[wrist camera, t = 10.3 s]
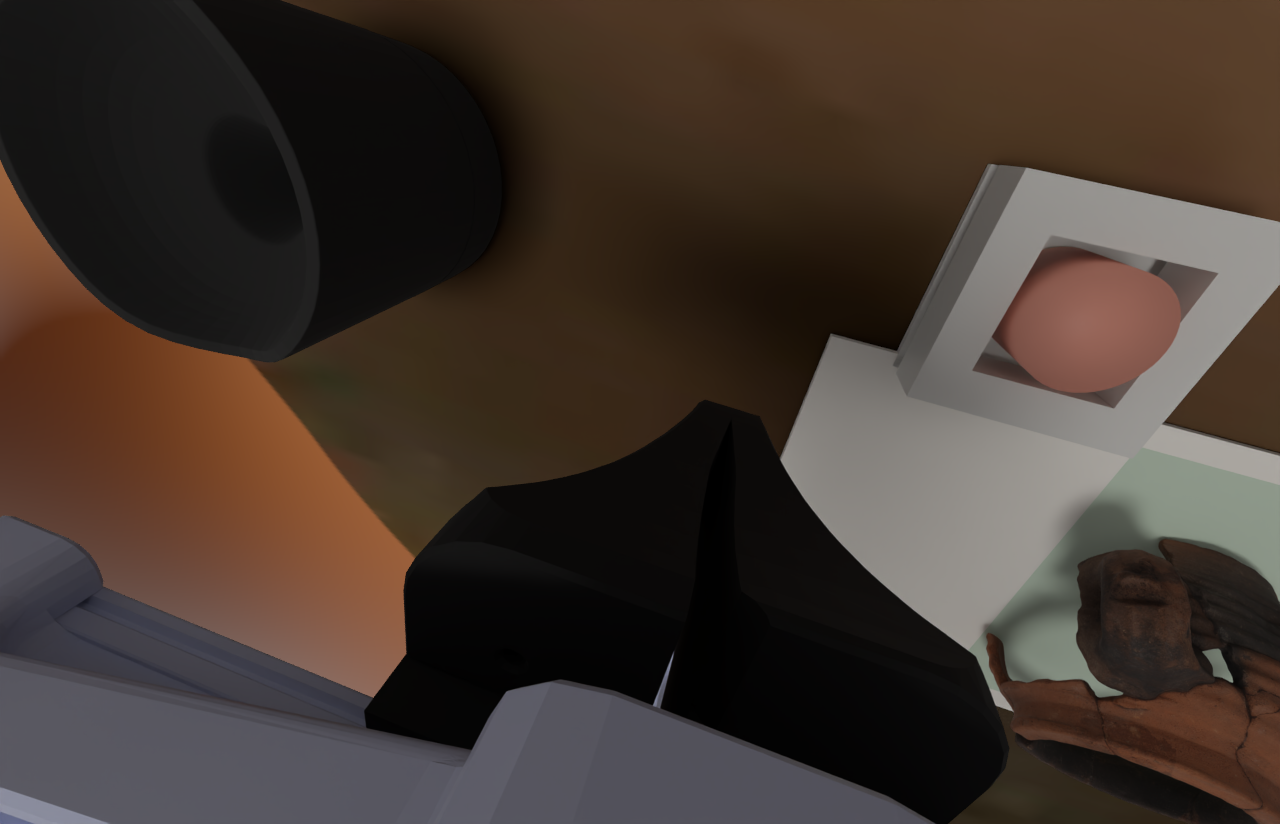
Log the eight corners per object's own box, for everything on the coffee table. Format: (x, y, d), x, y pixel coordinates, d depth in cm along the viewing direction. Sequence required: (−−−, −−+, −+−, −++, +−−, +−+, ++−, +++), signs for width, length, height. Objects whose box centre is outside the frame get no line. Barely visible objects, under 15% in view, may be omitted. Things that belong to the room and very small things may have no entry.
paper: (1247, 787, 24) (1253, 794, 24) (719, 605, 28) (719, 609, 27) (1641, 549, 16) (1655, 556, 16) (830, 333, 20) (831, 336, 19)
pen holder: (371, -40, 18) (-17, -210, 9) (562, 174, 19) (384, 199, 11) (279, 168, 22) (-39, 183, 14) (440, 327, 24) (246, 429, 15)
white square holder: (1084, 415, 19) (1132, 458, 16) (891, 362, 19) (906, 396, 17) (1232, 216, 15) (1324, 231, 12) (987, 163, 16) (1026, 167, 13)
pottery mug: (1309, 647, 21) (1353, 893, 17) (1023, 601, 28) (1008, 767, 24) (1306, 472, 15) (1372, 780, 11) (950, 471, 22) (915, 659, 18)
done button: (1070, 366, 18) (1122, 407, 15) (962, 338, 18) (994, 373, 15) (1141, 262, 16) (1216, 287, 13) (1020, 234, 16) (1067, 252, 13)
